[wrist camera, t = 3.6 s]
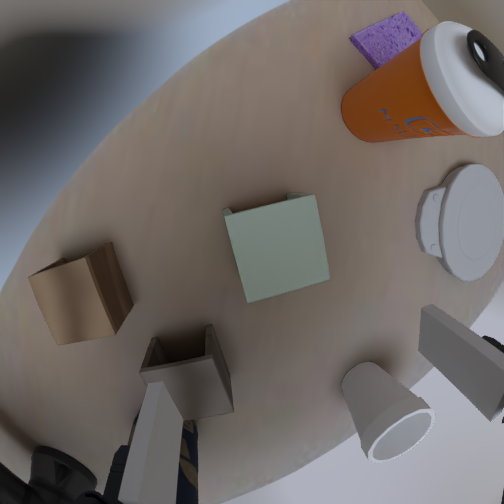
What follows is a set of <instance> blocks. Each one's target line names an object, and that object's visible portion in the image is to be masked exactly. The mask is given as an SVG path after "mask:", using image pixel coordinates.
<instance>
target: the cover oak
mask: <svg viewBox="0 0 504 504" xmlns="http://www.w3.org/2000/svg"><path fill="white" fill-rule="evenodd" d="M139 373H140V375H141V377H142V379H143V381H144V383H145V384H146V386H148V383H153V382H161V381H163V382H164V384H165V386H166V388H167V390H168V392H169V394H170V396H171V398H172V400H173V401H174V403H175V405H176V407H177V409H178V411H179V412H180V414H181V416H182V418H183V421H187V420H194V419H200V418H205V417H211V416H216V415H221V414H226V413H231V412H234V408H233V399H232V390H231V380H230V373H229V371H228V368H227V365H226V362H225V360H224V357H223V354H222V351H221V349H220V346H219V343H218V340H217V337H216V335H215V332H214V329H213V326H212V324H211V325H207V326H206V338H205V356H202V357H198V358H193V359H188V360H184V361H179V362H174V363H168V361H167V359H166V356H165V354H164V352H163V350H162V347H161V345H160V343H159V341H158V338H157V337H155V338H152V339H151V341H150V344H149V347H148V349H147V352H146V355H145V358H144V360H143V363H142V366H141V369H140V372H139Z"/></svg>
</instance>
